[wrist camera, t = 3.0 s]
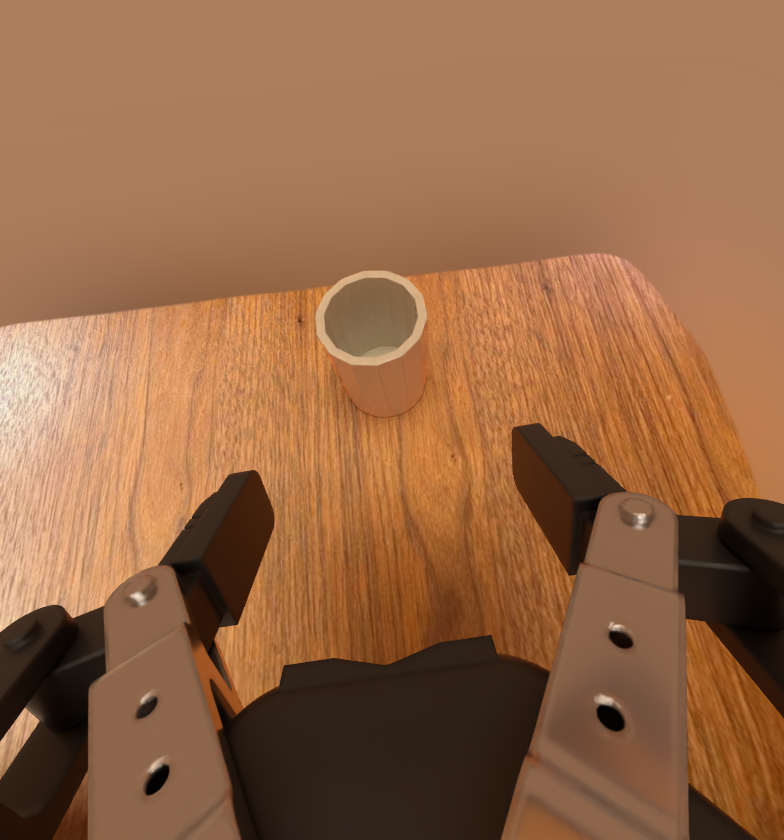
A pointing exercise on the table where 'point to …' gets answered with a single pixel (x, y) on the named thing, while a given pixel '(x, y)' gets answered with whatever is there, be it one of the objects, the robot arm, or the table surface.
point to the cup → (376, 340)
